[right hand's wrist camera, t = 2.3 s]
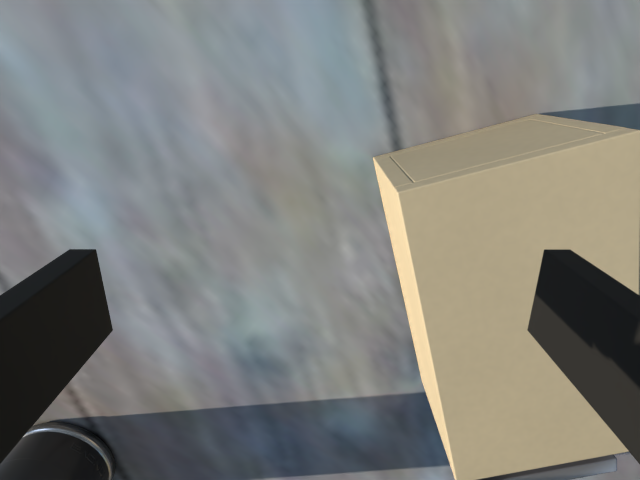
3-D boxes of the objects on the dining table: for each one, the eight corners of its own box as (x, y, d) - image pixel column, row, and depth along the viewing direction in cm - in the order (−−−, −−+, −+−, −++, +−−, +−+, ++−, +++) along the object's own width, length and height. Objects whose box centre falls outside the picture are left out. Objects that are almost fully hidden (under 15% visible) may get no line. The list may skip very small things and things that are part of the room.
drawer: (559, 438, 37) (618, 525, 30) (446, 459, 38) (476, 549, 31) (540, 179, 29) (615, 213, 21) (395, 215, 30) (419, 260, 22)
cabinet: (554, 353, 35) (638, 450, 26) (422, 381, 36) (456, 484, 27) (537, 113, 28) (642, 129, 19) (372, 157, 29) (396, 192, 20)
